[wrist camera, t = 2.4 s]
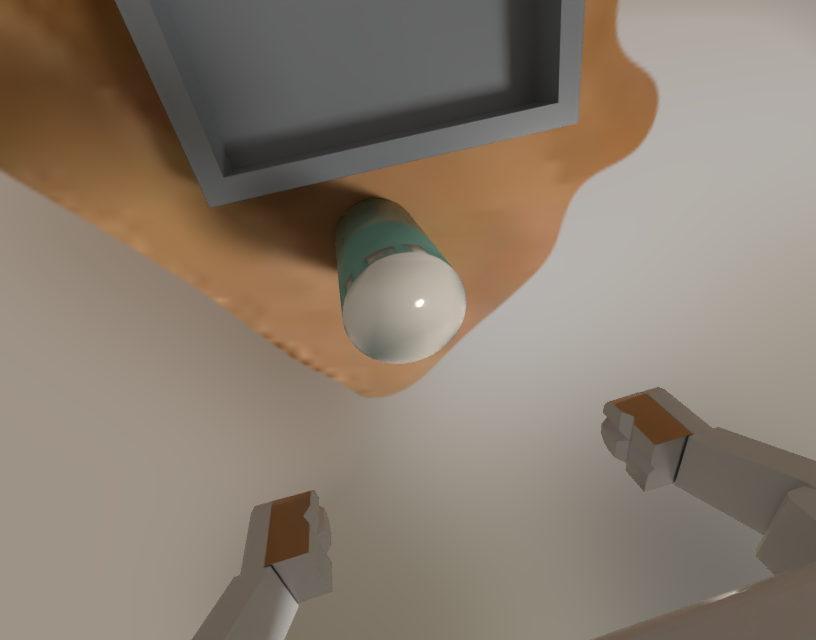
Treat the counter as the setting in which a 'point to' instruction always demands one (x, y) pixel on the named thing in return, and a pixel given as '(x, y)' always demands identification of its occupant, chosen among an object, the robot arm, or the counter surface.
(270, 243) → the counter surface
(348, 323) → the green rounded cylinder
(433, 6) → the tray
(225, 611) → the robot arm
